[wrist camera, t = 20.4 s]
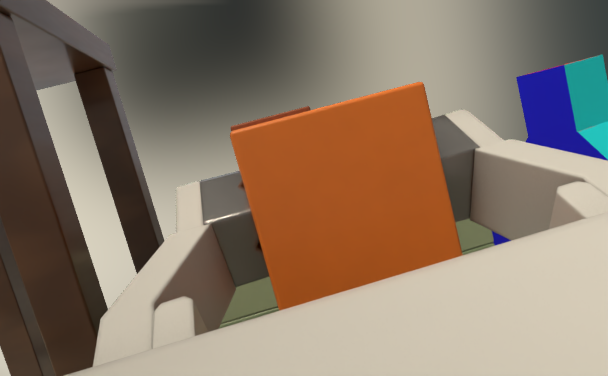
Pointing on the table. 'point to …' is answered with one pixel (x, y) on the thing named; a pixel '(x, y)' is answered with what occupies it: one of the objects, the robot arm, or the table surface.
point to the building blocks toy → (567, 109)
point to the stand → (58, 192)
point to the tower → (346, 193)
